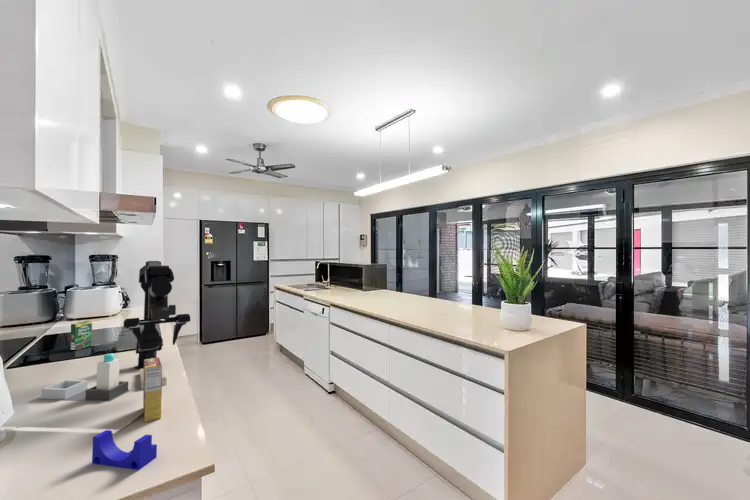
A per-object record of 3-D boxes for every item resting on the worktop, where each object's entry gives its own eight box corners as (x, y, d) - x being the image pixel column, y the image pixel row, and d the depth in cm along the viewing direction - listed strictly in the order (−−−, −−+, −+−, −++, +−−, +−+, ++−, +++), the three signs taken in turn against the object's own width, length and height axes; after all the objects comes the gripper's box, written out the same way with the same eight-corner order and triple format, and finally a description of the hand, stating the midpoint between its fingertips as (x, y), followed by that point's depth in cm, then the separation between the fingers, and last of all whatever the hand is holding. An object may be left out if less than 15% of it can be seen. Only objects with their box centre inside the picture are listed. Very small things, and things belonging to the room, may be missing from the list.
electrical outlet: (162, 363, 129) (167, 376, 115) (161, 373, 129) (166, 388, 114) (139, 366, 124) (142, 380, 110) (139, 377, 124) (141, 393, 110)
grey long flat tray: (64, 390, 110) (65, 379, 110) (131, 392, 110) (132, 380, 110) (36, 402, 101) (37, 389, 101) (109, 404, 101) (109, 391, 101)
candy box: (141, 410, 97) (143, 359, 97) (159, 407, 99) (160, 356, 100) (142, 423, 90) (144, 367, 90) (161, 418, 92) (163, 364, 93)
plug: (106, 392, 107) (108, 352, 108) (118, 392, 107) (119, 352, 108) (96, 397, 103) (97, 356, 104) (108, 397, 103) (109, 356, 104)
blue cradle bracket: (156, 458, 74) (157, 431, 75) (139, 470, 70) (140, 442, 70) (111, 452, 76) (112, 426, 76) (91, 464, 72) (93, 436, 72)
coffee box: (74, 351, 155) (75, 323, 155) (69, 351, 155) (70, 323, 155) (92, 347, 162) (93, 320, 163) (87, 346, 163) (88, 320, 163)
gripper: (125, 299, 101) (123, 350, 98) (192, 295, 113) (193, 341, 109) (123, 304, 109) (122, 351, 106) (187, 300, 121) (187, 343, 118)
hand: (157, 346), depth 110 cm, fingers open, 9 cm apart
